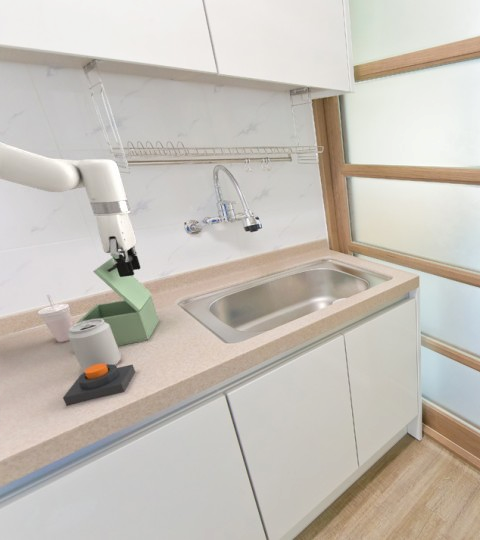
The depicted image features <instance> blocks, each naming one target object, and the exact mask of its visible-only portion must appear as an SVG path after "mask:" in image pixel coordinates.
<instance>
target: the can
mask: <svg viewBox="0 0 480 540" xmlns="http://www.w3.org/2000/svg"><path fill="white" fill-rule="evenodd" d="M69 331H70V333H69V334H68V338H69V340H68V341H69V343H70V345H71V348H72V350H73V352H74V354H75V358H76V359H77V362H78V364H79V367H80V369H81V371H82V372H83V373H85V370H86V369H87V368H89V367H91V366H93V365H96V364H100V363H105V364H106V365H107V364H112V365H115V366H117V364H119V362H120V361H121V360H122V355H121V352H120V349H119V346H117V344H116V341H115V339H114V336H113V333H112V331H111V328H110V325H109V324H108V323H106V322H104V320H103V319H91V320H87V321H83V322H80V323H78V324H76V323H75V324H74V325H72V327H71V328H70V329H69Z"/></svg>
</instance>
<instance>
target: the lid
mask: <svg viewBox="0 0 480 540" xmlns="http://www.w3.org/2000/svg"><path fill="white" fill-rule="evenodd" d="M128 259H129V261H132V260H133V258H132V256H130V255H128ZM92 273H94V274H95V275H96V276H97V277H98V278H99V279H101V281H102V282H104V283H105V284H106V285H107V286H108V287H109V288H110V289H111V290H112V291H114V292H115V294H117V296H119V297H120V298H121V299H122V300H125V301H126V302H127V303H128V304H129V305H130V306H131V307H133V308H134V309H135V310H136V311H137V312H138V311H140V310H141V308H142V307H143V305H144V304H145V303H146V301H147V300H148V299H149V297H150V296H151V297H152V293H151V291H149V289H147V288H146V287H145V286H144V284H142V282H140V281H139V279H137V278H136V277H135V276H134V275H133V276H125V277H120V276H119V273H118V270H117V267H116V263H115V262H114V258H113V257H111V258H109V259H108V260H106V261H105V262H104V263H103V264H101V265H100V266H98V267H97V268H95V269H94V270H93V271H92Z"/></svg>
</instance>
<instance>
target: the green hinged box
mask: <svg viewBox="0 0 480 540" xmlns="http://www.w3.org/2000/svg"><path fill="white" fill-rule="evenodd" d="M153 301H154V300H153V297H152V295H151V296H150V297H149V299H148V300H147V301H146V303H145V304H144V305H143V307H142V308H141V310H140V311H138V312H137V311H136V310H135V309H134V308H133V307H131V306H130V305H129V304H128V303H127V302H126V301H125V300H124V299H122V300H117V301H110V302H104V303H98V304H95V305H94V306H92V308H91V309H90V310H89V311H88V312H87V313H86V314H84V316H82V317H81V318H80V319H79V320H78V321H77V322H76V323H75V324H78V323H80V322H83V321H87V320H91V319H103V320H104V322H106V323H108V324H109V325H110V328H111V331H112V333H113V336H114V339H115V341H116V344H117V347H119V346H125V345H130V344H134V343H140V342H145V341H149V340H150V338H151V336H152V334H153V333H154V331H155V329H156V327H157V325H158V324H159V321H160V320H159V316H158V313H157V311H156V307H155V304H154V302H153Z"/></svg>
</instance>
